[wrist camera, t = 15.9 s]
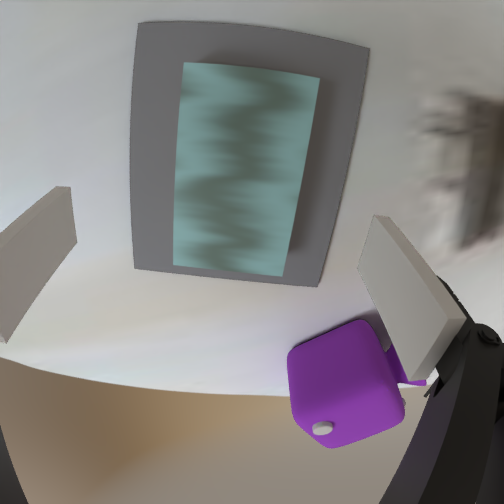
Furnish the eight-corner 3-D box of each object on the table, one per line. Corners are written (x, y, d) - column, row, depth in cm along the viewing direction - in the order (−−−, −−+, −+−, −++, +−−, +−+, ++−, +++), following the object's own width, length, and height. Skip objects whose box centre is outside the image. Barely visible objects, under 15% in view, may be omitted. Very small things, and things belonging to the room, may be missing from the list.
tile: (173, 264, 23) (183, 62, 16) (180, 244, 26) (192, 64, 19) (282, 276, 24) (319, 78, 17) (279, 255, 26) (310, 78, 19)
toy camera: (421, 336, 33) (453, 405, 24) (326, 393, 37) (338, 462, 29) (381, 282, 29) (420, 362, 20) (270, 354, 33) (275, 436, 25)
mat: (136, 265, 28) (134, 268, 27) (140, 24, 17) (138, 23, 17) (316, 283, 29) (317, 287, 28) (367, 48, 18) (369, 48, 18)
